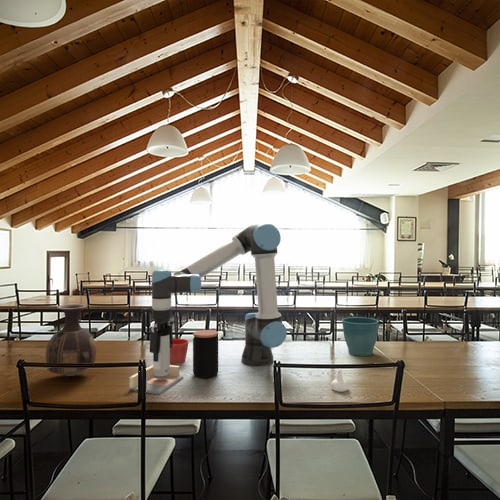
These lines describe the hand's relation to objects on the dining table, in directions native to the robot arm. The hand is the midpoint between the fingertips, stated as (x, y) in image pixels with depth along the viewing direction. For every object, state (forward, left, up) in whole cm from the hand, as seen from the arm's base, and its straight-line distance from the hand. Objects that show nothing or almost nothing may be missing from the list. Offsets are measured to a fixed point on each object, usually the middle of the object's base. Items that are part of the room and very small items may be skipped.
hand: (161, 366), depth 152 cm
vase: (+40, +6, -7) cm, 40 cm away
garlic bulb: (-68, -15, -7) cm, 70 cm away
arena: (+1, +2, -7) cm, 7 cm away
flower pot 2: (-73, -69, -7) cm, 101 cm away
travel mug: (0, 0, -4) cm, 4 cm away
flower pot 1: (+9, -27, -7) cm, 30 cm away
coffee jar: (-12, -14, -7) cm, 20 cm away
